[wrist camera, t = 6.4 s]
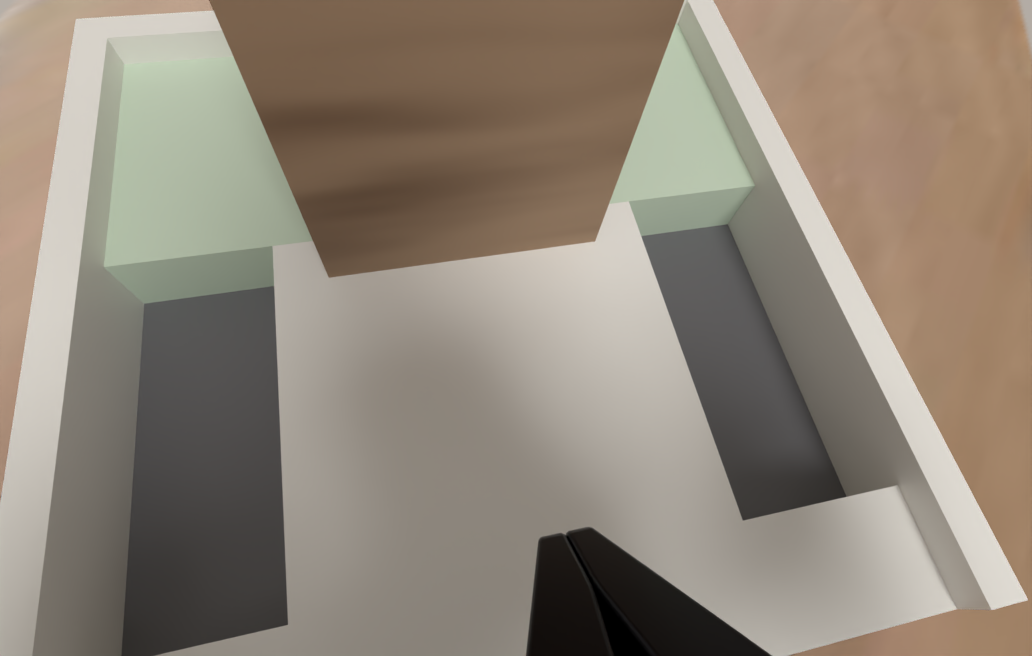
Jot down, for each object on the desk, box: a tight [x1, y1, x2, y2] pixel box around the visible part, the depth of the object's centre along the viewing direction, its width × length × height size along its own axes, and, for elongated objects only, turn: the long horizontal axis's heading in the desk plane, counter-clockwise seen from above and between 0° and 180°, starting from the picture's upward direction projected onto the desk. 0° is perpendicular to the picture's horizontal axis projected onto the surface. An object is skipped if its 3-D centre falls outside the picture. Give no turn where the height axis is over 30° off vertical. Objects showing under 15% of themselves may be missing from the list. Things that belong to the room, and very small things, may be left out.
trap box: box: [0, 0, 1028, 656], centre depth 17 cm, size 22×22×4 cm
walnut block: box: [209, 0, 684, 278], centre depth 14 cm, size 8×8×10 cm
